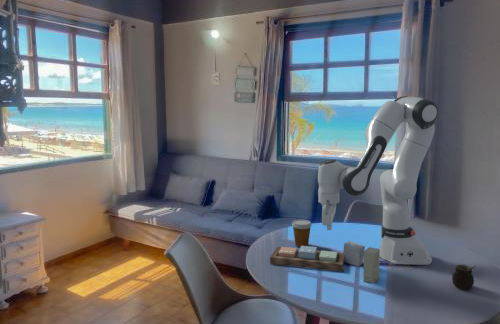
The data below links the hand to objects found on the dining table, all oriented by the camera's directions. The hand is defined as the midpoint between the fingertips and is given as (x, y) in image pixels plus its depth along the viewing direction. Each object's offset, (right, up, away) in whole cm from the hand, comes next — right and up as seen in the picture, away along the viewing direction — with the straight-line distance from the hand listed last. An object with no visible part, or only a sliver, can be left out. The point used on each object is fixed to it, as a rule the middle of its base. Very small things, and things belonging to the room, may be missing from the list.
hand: (329, 229), depth 166 cm
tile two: (-9, -13, +5) cm, 16 cm away
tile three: (-17, -14, +7) cm, 23 cm away
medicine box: (+11, -16, +3) cm, 19 cm away
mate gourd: (+46, -18, -22) cm, 54 cm away
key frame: (-9, -15, +5) cm, 18 cm away
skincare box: (+14, -18, -14) cm, 26 cm away
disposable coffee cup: (-9, -13, +25) cm, 29 cm away
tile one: (0, -14, +2) cm, 14 cm away
